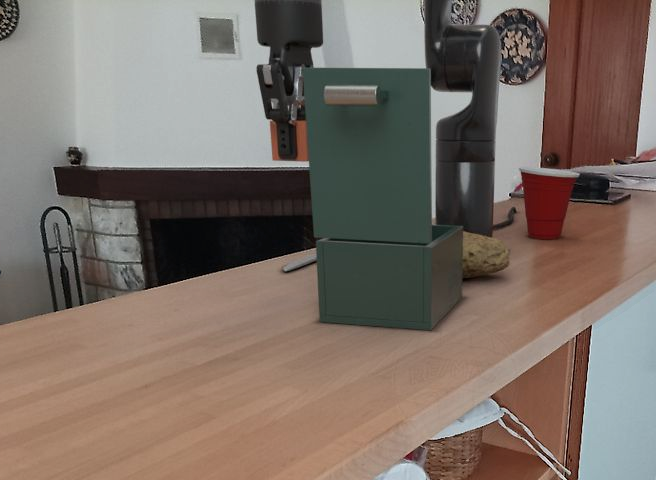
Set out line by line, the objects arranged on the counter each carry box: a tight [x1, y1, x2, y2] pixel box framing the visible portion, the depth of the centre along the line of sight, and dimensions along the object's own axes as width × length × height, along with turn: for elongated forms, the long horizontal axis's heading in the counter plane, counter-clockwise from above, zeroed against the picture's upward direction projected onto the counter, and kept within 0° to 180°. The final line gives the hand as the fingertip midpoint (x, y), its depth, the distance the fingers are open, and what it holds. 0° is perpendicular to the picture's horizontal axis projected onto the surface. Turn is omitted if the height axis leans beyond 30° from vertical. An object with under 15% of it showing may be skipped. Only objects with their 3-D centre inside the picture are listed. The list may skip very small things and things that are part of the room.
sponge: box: [462, 231, 511, 279], centre depth 107 cm, size 13×8×20 cm
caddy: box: [315, 223, 463, 331], centre depth 90 cm, size 16×13×9 cm
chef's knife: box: [282, 252, 317, 272], centre depth 117 cm, size 19×1×3 cm
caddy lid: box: [302, 67, 433, 244], centre depth 75 cm, size 16×13×5 cm
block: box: [269, 120, 309, 163], centre depth 94 cm, size 4×4×4 cm
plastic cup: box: [518, 166, 581, 240], centre depth 140 cm, size 11×11×12 cm
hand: (297, 156), depth 95 cm, fingers closed on block, 4 cm apart
